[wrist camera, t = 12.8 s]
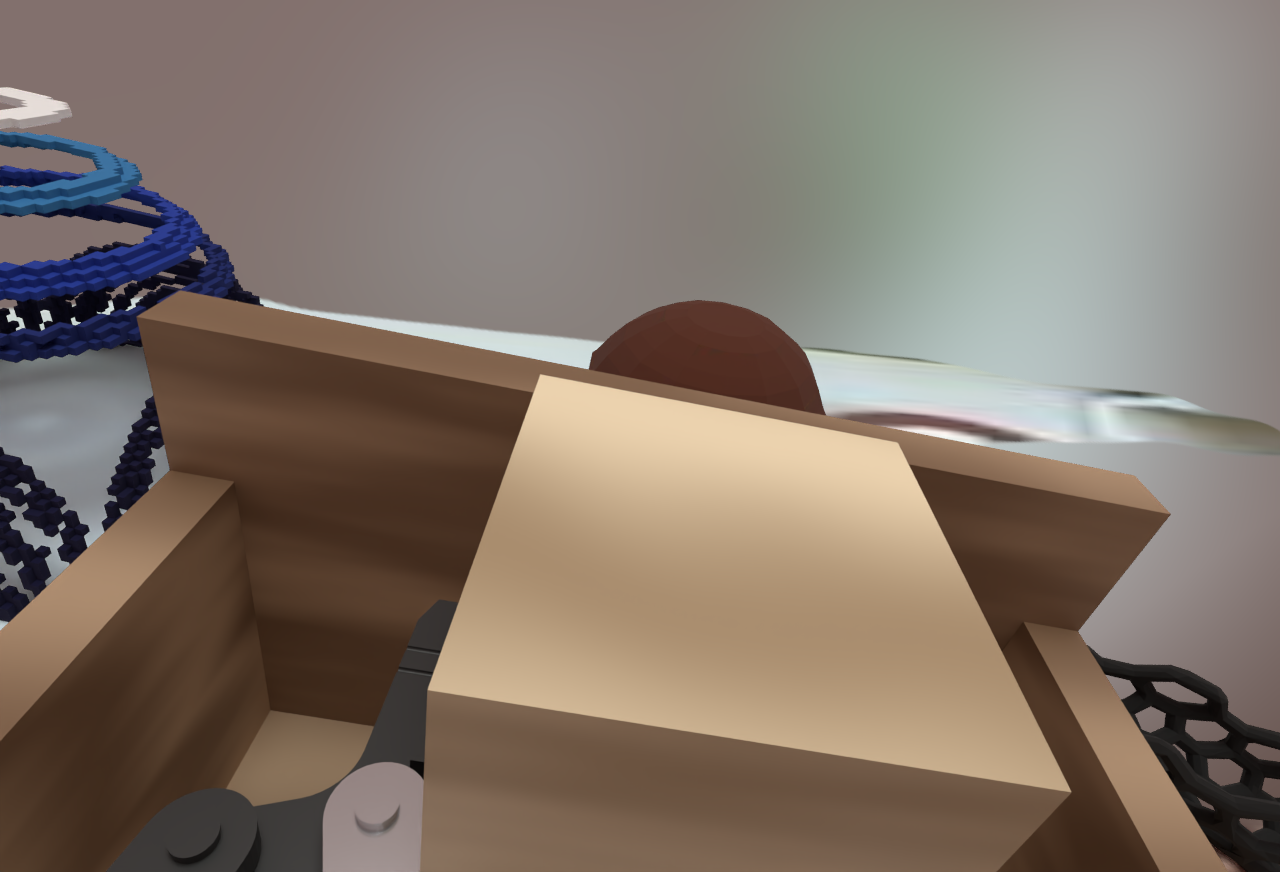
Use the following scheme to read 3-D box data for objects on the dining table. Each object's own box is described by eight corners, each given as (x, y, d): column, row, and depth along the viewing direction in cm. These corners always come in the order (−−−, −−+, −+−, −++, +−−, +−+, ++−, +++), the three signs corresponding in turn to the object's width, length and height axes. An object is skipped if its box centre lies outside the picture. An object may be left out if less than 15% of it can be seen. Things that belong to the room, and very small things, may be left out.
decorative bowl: (392, 393, 39) (392, 124, 32) (138, 685, 23) (5, 261, 15) (47, 314, 39) (-38, 24, 31) (-469, 549, 22) (-925, 49, 15)
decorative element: (852, 746, 26) (916, 643, 23) (871, 652, 30) (928, 554, 27) (1592, 1117, 20) (1816, 1051, 17) (1493, 941, 24) (1659, 861, 21)
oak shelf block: (483, 811, 17) (540, 374, 10) (707, 844, 17) (897, 442, 11) (409, 1127, 12) (426, 690, 6) (719, 1163, 12) (1071, 793, 6)
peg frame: (249, 681, 23) (180, 290, 16) (908, 786, 25) (1134, 475, 17) (-180, 1376, 12) (-1263, 1160, 4) (1112, 1494, 13) (2095, 1497, 6)
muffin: (655, 602, 30) (713, 405, 24) (526, 459, 36) (549, 280, 31) (826, 524, 37) (901, 357, 31) (692, 416, 43) (735, 263, 38)
